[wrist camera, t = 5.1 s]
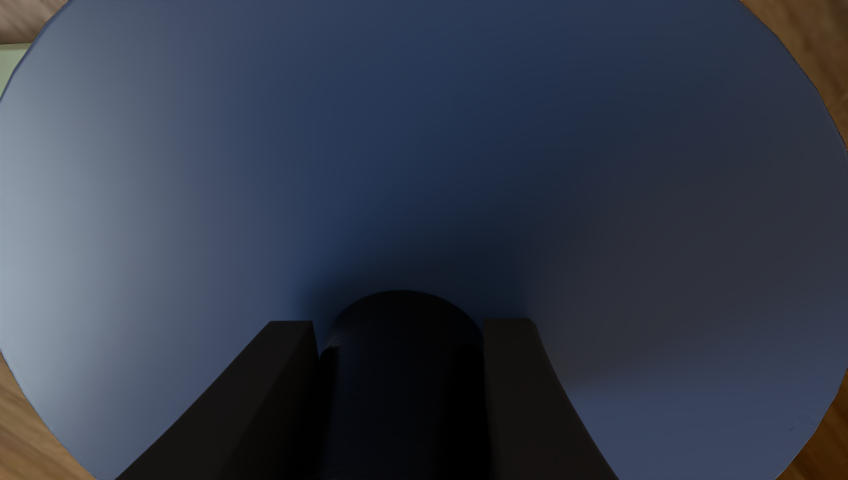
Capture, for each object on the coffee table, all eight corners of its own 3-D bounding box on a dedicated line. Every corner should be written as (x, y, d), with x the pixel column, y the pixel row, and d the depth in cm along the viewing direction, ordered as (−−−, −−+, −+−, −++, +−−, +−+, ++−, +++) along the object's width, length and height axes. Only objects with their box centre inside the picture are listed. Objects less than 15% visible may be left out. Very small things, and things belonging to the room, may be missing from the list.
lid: (753, 563, 14) (857, 852, 10) (139, 551, 15) (22, 809, 11) (954, -173, 8) (1440, -142, 4) (-137, -98, 9) (-623, -16, 5)
